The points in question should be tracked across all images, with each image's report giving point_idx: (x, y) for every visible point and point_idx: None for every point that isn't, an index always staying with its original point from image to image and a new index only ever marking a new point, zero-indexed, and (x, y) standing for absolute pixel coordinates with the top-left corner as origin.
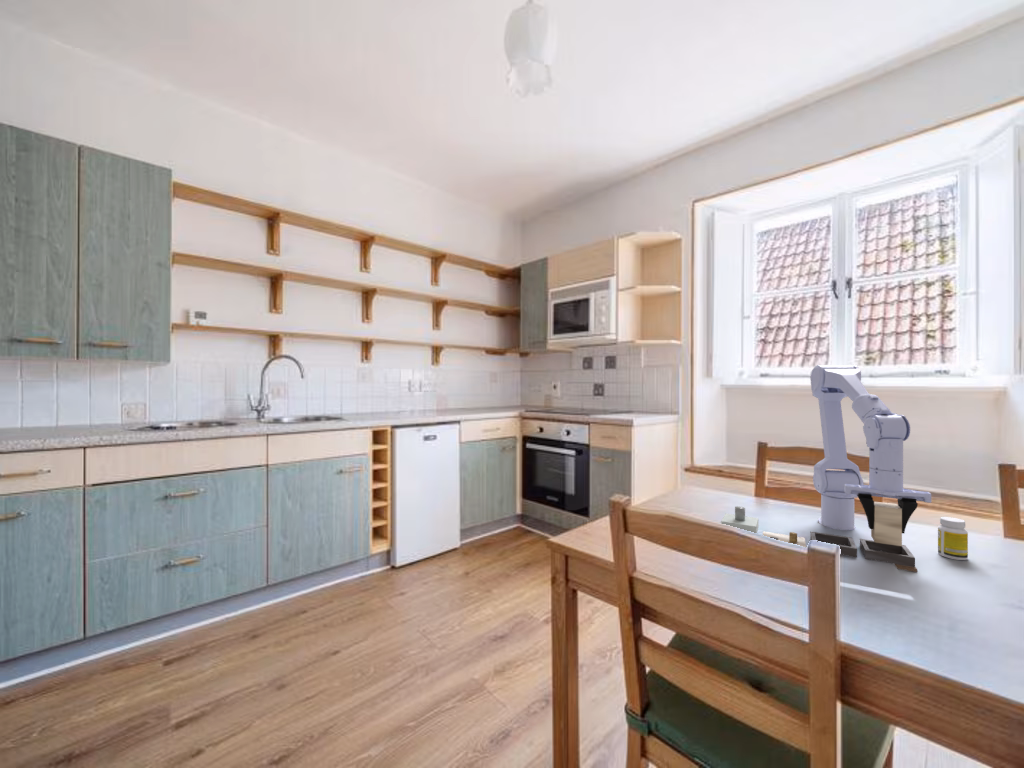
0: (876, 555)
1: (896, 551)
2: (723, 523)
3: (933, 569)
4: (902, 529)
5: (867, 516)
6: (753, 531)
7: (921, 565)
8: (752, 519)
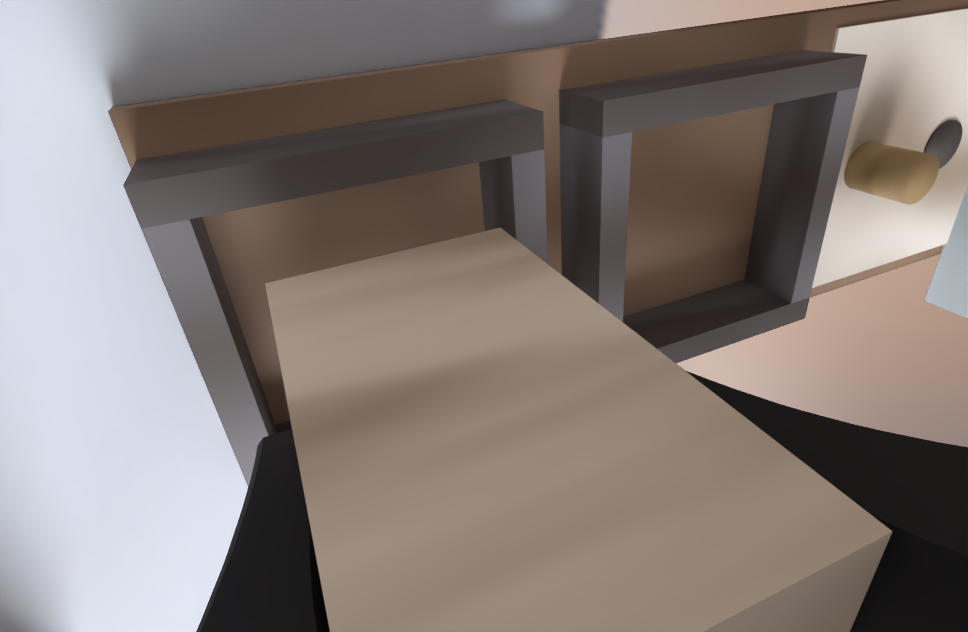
0: (449, 122)
1: None
2: None
3: (12, 304)
4: (282, 459)
5: None
6: None
7: (120, 337)
8: None
